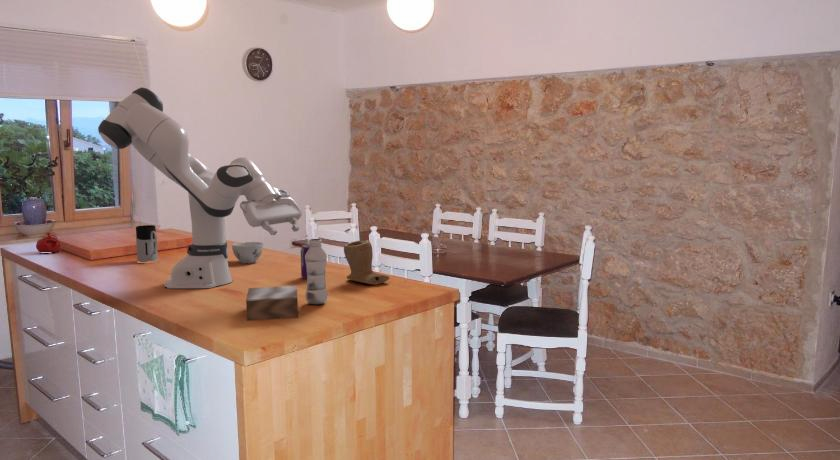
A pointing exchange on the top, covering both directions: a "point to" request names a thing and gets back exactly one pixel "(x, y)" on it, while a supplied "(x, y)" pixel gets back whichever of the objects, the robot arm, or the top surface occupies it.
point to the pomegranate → (48, 244)
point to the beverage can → (303, 263)
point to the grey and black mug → (146, 243)
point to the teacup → (247, 251)
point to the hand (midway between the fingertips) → (285, 232)
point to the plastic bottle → (316, 273)
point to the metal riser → (272, 303)
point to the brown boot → (362, 263)
